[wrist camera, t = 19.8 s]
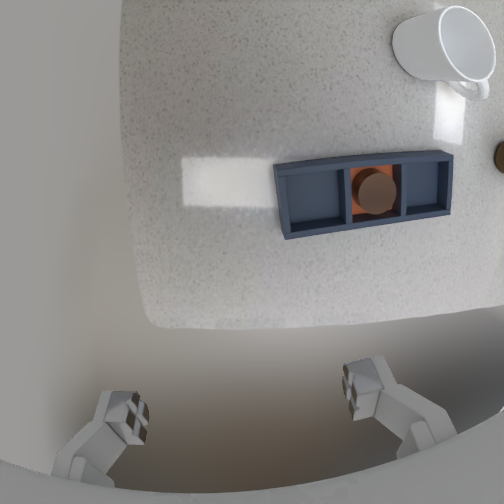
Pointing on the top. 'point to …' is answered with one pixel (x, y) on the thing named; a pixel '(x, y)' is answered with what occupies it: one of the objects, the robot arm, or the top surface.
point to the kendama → (500, 157)
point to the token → (373, 191)
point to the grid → (340, 195)
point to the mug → (447, 49)
